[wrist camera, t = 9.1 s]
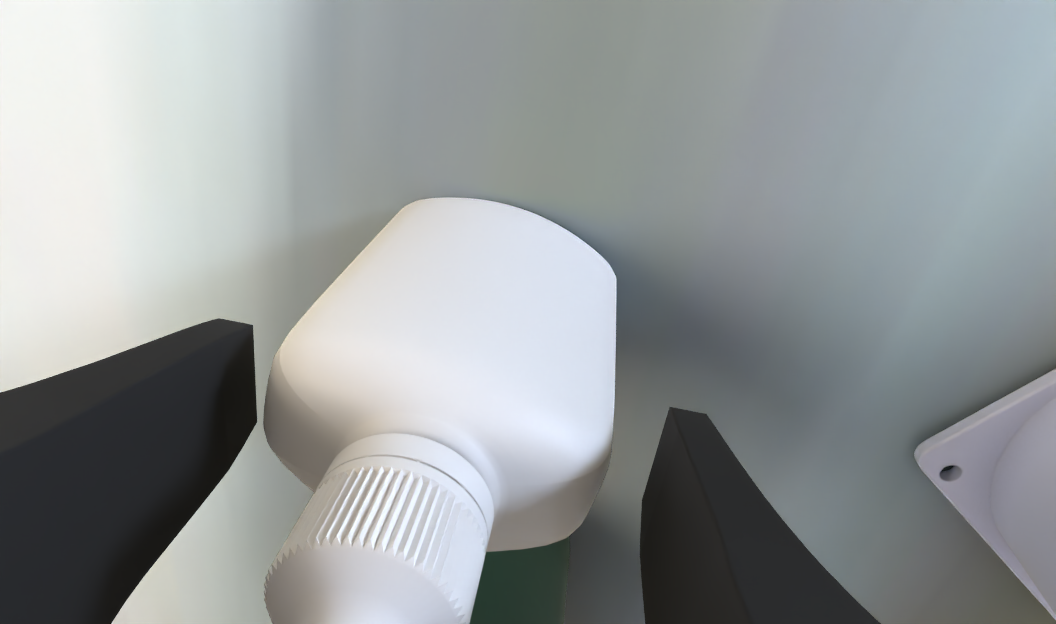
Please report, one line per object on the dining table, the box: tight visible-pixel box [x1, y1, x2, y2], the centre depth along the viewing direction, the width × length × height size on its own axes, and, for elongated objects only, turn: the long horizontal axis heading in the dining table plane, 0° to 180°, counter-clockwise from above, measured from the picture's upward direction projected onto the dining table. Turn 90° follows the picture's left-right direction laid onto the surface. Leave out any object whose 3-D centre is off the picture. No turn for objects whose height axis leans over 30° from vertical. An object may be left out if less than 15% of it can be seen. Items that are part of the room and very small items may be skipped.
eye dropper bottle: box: [263, 197, 616, 624], centre depth 12 cm, size 4×6×12 cm
